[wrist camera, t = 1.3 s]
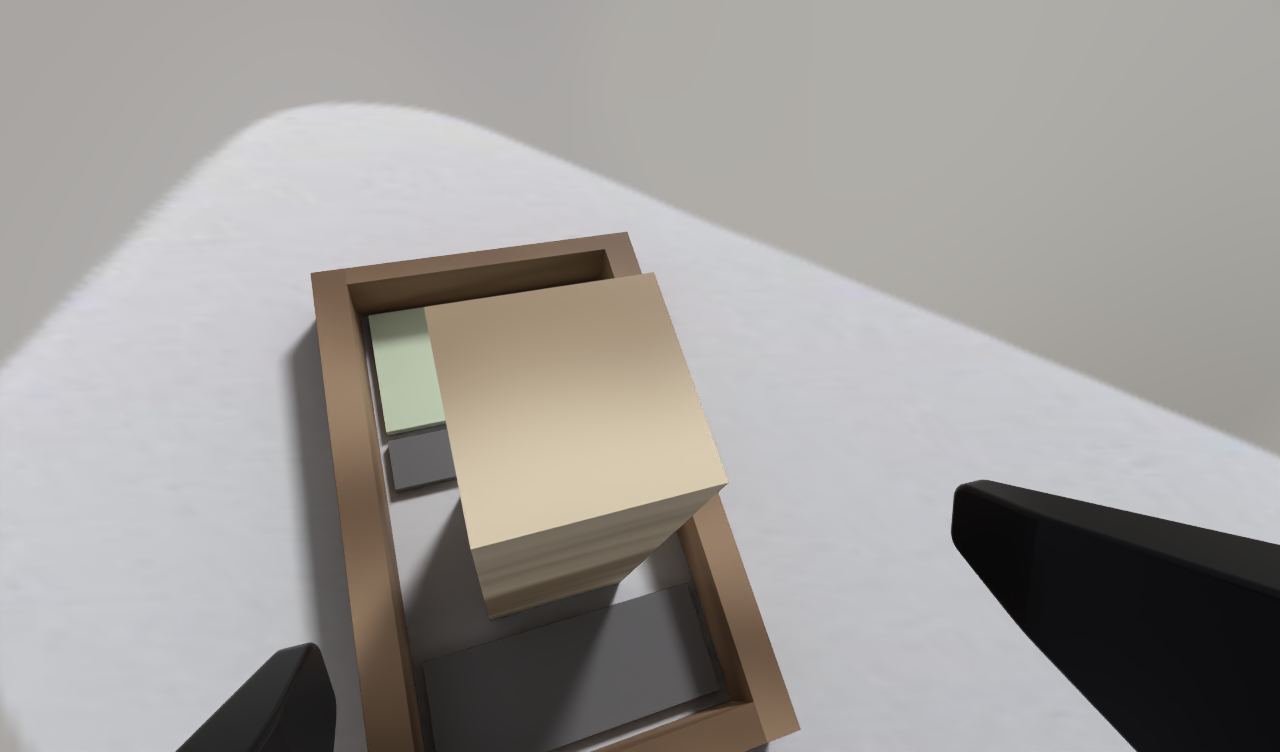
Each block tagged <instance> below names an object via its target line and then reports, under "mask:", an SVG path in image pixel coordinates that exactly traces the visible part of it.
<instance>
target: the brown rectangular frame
mask: <svg viewBox="0 0 1280 752" xmlns="http://www.w3.org/2000/svg"><path fill="white" fill-rule="evenodd" d="M640 274H642V273H641V270H640V267H639V264H638V261H637V259H636V256H635V253H634V250H633V247H632V244H631V241H630V239H629V236H628V233H627V232H622V233H614V234H607V235H599V236H591V237H584V238H576V239H568V240H561V241H553V242H545V243H538V244H530V245H522V246H515V247H507V248H499V249H492V250H484V251H476V252H468V253H461V254H453V255H445V256H438V257H430V258H422V259H415V260H407V261H399V262H392V263H384V264H376V265H369V266H361V267H353V268H346V269H338V270H330V271H322V272H315V273H311V281H312V289H313V297H314V306H315V314H316V322H317V331H318V339H319V348H320V356H321V364H322V373H323V381H324V389H325V398H326V406H327V414H328V423H329V431H330V439H331V448H332V456H333V464H334V473H335V481H336V489H337V498H338V506H339V514H340V523H341V531H342V539H343V548H344V556H345V564H346V573H347V581H348V589H349V598H350V606H351V614H352V623H353V631H354V639H355V648H356V656H357V665H358V673H359V681H360V690H361V698H362V706H363V715H364V723H365V731H366V740H367V748H368V752H425V749H424V743H423V736H422V729H421V723H420V716H419V709H418V703H417V696H416V689H415V683H414V676H413V669H412V662H411V656H410V649H409V642H408V636H407V629H406V622H405V616H404V609H403V602H402V596H401V589H400V582H399V575H398V569H397V562H396V555H395V549H394V542H393V535H392V529H391V522H390V515H389V509H388V502H387V495H386V488H385V482H384V475H383V468H382V462H381V455H380V448H379V442H378V435H377V428H376V421H375V415H374V408H373V401H372V395H371V388H370V381H369V375H368V368H367V361H366V355H365V348H364V341H363V334H362V328H361V321H360V317H361V316H367V315H374V314H381V313H387V312H394V311H400V310H407V309H414V308H420V307H427V306H434V305H440V304H447V303H453V302H460V301H467V300H473V299H480V298H487V297H493V296H500V295H506V294H513V293H520V292H526V291H533V290H540V289H546V288H553V287H559V286H566V285H573V284H579V283H586V282H593V281H600V280H607V279H613V278H620V277H627V276H633V275H640ZM677 532H678V535H679V538H680V541H681V544H682V548H683V551H684V554H685V557H686V560H687V563H688V566H689V570H690V573H691V576H692V579H693V582H694V585H695V589H696V592H697V595H698V598H699V601H700V604H701V608H702V611H703V614H704V617H705V620H706V623H707V626H708V630H709V633H710V636H711V639H712V642H713V645H714V649H715V652H716V655H717V658H718V661H719V664H720V667H721V671H722V674H723V677H724V680H725V683H726V686H727V690H728V693H729V696H730V699H731V701H728V702H725V703H722V704H720V705H717V706H714V707H711V708H709V709H706V710H703V711H701V712H698V713H695V714H692V715H690V716H687V717H684V718H682V719H679V720H676V721H673V722H671V723H668V724H665V725H662V726H660V727H657V728H654V729H652V730H649V731H646V732H643V733H641V734H638V735H635V736H632V737H630V738H627V739H624V740H622V741H619V742H616V743H613V744H611V745H608V746H605V747H603V748H600V749H597V750H594V751H592V752H745V751H748V750H750V749H753V748H755V747H758V746H761V745H763V744H766V743H768V742H771V741H773V740H776V739H778V738H781V737H783V736H786V735H788V734H791V733H793V732H796V731H798V730H801V729H800V726H799V723H798V721H797V718H796V715H795V712H794V709H793V706H792V703H791V700H790V698H789V695H788V692H787V689H786V686H785V683H784V680H783V677H782V675H781V672H780V669H779V666H778V663H777V660H776V657H775V655H774V652H773V649H772V646H771V643H770V640H769V637H768V634H767V632H766V629H765V626H764V623H763V620H762V617H761V614H760V611H759V609H758V606H757V603H756V600H755V597H754V594H753V591H752V589H751V586H750V583H749V580H748V577H747V574H746V571H745V568H744V566H743V563H742V560H741V557H740V554H739V551H738V548H737V545H736V543H735V540H734V537H733V534H732V531H731V528H730V525H729V523H728V520H727V517H726V514H725V511H724V508H723V505H722V502H721V500H720V497H719V494H718V493H717V494H716V495H715V496H714V497H712V498H711V499H710V500H709V501H708V502H707V503H706V504H705V505H704V506H703V507H702V508H700V509H699V510H698V511H697V512H696V513H695V514H694V515H693V516H692V517H691V518H690V519H688V520H687V521H686V522H685V523H684V524H683V525H682V526H681V527H680V528H679V529H678V530H677Z"/></svg>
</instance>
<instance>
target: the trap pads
mask: <svg viewBox="0 0 1280 752" xmlns="http://www.w3.org/2000/svg"><path fill="white" fill-rule="evenodd" d="M388 446H389V453H390V459H391V466H392V472H393V479H394V485H395V490H396V492H401V491H405V490H410V489H414V488H418V487H423V486H427V485H432V484H436V483H440V482H445V481H449V480H454V479H457V476H456V471H455V466H454V461H453V456H452V451H451V445H450V440H449V435H448V430H447V429H444V430H439V431H434V432H430V433H425V434H420V435H415V436H410V437H405V438H400V439H395V440H391V441H388ZM422 666H423V672H424V678H425V685H426V691H427V698H428V704H429V711H430V717H431V724H432V730H433V736H434V743H435V749H436V752H547V751H550V750H553V749H556V748H558V747H561V746H564V745H567V744H570V743H572V742H575V741H578V740H581V739H583V738H586V737H589V736H592V735H595V734H597V733H600V732H603V731H606V730H608V729H611V728H614V727H617V726H620V725H622V724H625V723H628V722H631V721H633V720H636V719H639V718H642V717H645V716H647V715H650V714H653V713H656V712H658V711H661V710H664V709H667V708H670V707H672V706H675V705H678V704H681V703H683V702H686V701H689V700H692V699H695V698H697V697H700V696H703V695H706V694H708V693H711V692H714V691H717V690H720V687H719V684H718V681H717V678H716V674H715V671H714V668H713V665H712V662H711V658H710V655H709V652H708V649H707V646H706V642H705V639H704V636H703V633H702V630H701V626H700V623H699V620H698V617H697V614H696V610H695V607H694V604H693V601H692V598H691V594H690V591H689V588H688V585H687V583H684V584H681V585H678V586H674V587H671V588H668V589H664V590H661V591H658V592H654V593H651V594H648V595H645V596H641V597H638V598H635V599H631V600H628V601H625V602H621V603H618V604H615V605H612V606H608V607H605V608H602V609H598V610H595V611H592V612H588V613H585V614H582V615H578V616H575V617H572V618H569V619H565V620H562V621H559V622H555V623H552V624H549V625H545V626H542V627H539V628H536V629H532V630H529V631H526V632H522V633H519V634H516V635H512V636H509V637H506V638H503V639H499V640H496V641H493V642H489V643H486V644H483V645H479V646H476V647H473V648H469V649H466V650H463V651H460V652H456V653H453V654H450V655H446V656H443V657H440V658H436V659H433V660H430V661H427V662H423V663H422Z"/></svg>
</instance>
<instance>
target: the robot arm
mask: <svg viewBox="0 0 1280 752" xmlns="http://www.w3.org/2000/svg"><path fill="white" fill-rule="evenodd" d="M951 536H952V540H953V543H954V545H955V547H956V548H957V550H958V551H959V552H960V554H961V555H962V556H963V557H964V559H965V560H966V561H967V562H968V564H969V565H970V566H971V567H972V569H973V570H974V571H975V573H976V574H977V575H978V576H979V578H980V579H981V580H982V581H983V583H984V584H985V585H986V586H987V588H988V589H989V590H990V591H991V593H992V594H993V595H994V596H995V598H996V599H997V600H998V601H999V603H1000V604H1001V605H1002V606H1003V608H1004V609H1005V610H1006V611H1007V613H1008V614H1009V615H1010V616H1011V618H1012V619H1013V620H1014V621H1015V622H1016V624H1017V625H1018V626H1019V627H1020V628H1021V630H1022V631H1023V632H1024V633H1025V634H1026V635H1027V636H1028V638H1029V639H1030V640H1031V641H1032V642H1033V643H1034V644H1035V645H1036V646H1037V647H1038V648H1039V649H1040V651H1041V652H1042V653H1043V654H1044V655H1045V656H1046V657H1047V658H1048V659H1049V660H1050V661H1051V662H1052V663H1053V664H1054V665H1055V666H1056V667H1057V668H1058V669H1059V670H1060V672H1061V673H1062V674H1063V675H1064V676H1065V677H1066V678H1067V679H1068V680H1069V681H1070V682H1071V683H1072V684H1073V685H1074V686H1075V687H1076V688H1077V689H1078V690H1079V692H1080V693H1081V694H1082V695H1083V696H1084V697H1085V698H1086V699H1087V700H1088V701H1089V702H1090V703H1091V704H1092V705H1093V706H1094V707H1095V708H1096V709H1097V710H1098V711H1099V713H1100V714H1101V715H1102V716H1103V717H1104V718H1105V719H1106V720H1107V721H1108V722H1109V723H1110V724H1111V725H1112V726H1113V727H1114V728H1115V729H1116V730H1117V731H1118V733H1119V734H1120V735H1121V736H1122V737H1123V738H1124V739H1125V740H1126V741H1127V742H1128V743H1129V744H1130V745H1131V746H1132V747H1133V748H1134V749H1135V750H1136V751H1137V752H1280V545H1277V544H1273V543H1268V542H1264V541H1259V540H1255V539H1250V538H1246V537H1241V536H1237V535H1232V534H1228V533H1223V532H1219V531H1214V530H1210V529H1205V528H1201V527H1196V526H1192V525H1187V524H1183V523H1178V522H1174V521H1169V520H1165V519H1160V518H1156V517H1151V516H1147V515H1142V514H1138V513H1133V512H1129V511H1124V510H1120V509H1115V508H1111V507H1106V506H1102V505H1097V504H1093V503H1088V502H1084V501H1079V500H1075V499H1070V498H1066V497H1061V496H1057V495H1052V494H1048V493H1043V492H1039V491H1034V490H1030V489H1025V488H1021V487H1016V486H1012V485H1007V484H1003V483H998V482H994V481H989V480H977V481H973V482H969V483H965V484H961V485H960V486H958V487H957V489H956V490H955V492H954V500H953V512H952V524H951ZM335 726H336V699H335V694H334V691H333V688H332V685H331V681H330V678H329V675H328V672H327V669H326V666H325V663H324V660H323V657H322V654H321V651H320V649H319V648H318V646H317V645H316V644H314V643H306V644H302V645H298V646H293V647H289V648H285V649H282V650H279V651H277V652H276V653H275V654H274V655H273V656H272V657H271V658H270V659H269V660H268V661H266V662H265V663H264V664H263V665H262V666H261V667H260V668H259V669H258V670H257V671H256V672H255V673H254V674H253V675H252V676H251V677H250V678H249V679H248V680H247V681H246V682H245V683H244V684H243V685H242V686H241V687H240V688H239V689H238V690H237V691H236V692H235V693H234V694H233V695H232V696H231V697H230V698H229V699H228V700H227V701H226V702H225V703H224V704H223V705H222V706H221V707H220V708H219V709H218V710H217V711H216V712H215V713H214V714H213V715H212V716H211V717H210V718H209V719H208V720H207V721H206V722H205V723H204V724H203V725H202V726H201V727H200V728H199V729H198V730H197V731H196V732H195V733H194V734H193V735H192V736H191V737H190V738H189V739H188V740H187V741H186V742H185V743H184V744H183V745H182V746H181V747H180V748H179V749H178V750H177V751H176V752H333V750H334V738H335Z"/></svg>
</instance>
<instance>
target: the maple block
mask: <svg viewBox="0 0 1280 752" xmlns="http://www.w3.org/2000/svg"><path fill="white" fill-rule="evenodd" d="M424 311H425V316H426V321H427V327H428V332H429V337H430V342H431V347H432V352H433V358H434V363H435V368H436V373H437V378H438V383H439V389H440V394H441V399H442V404H443V409H444V414H445V420H446V425H447V430H448V435H449V440H450V445H451V451H452V456H453V461H454V466H455V471H456V476H457V482H458V487H459V492H460V497H461V502H462V507H463V513H464V518H465V523H466V528H467V533H468V538H469V544H470V549H471V553H472V557H473V560H474V564H475V568H476V572H477V575H478V579H479V583H480V587H481V590H482V594H483V598H484V602H485V605H486V609H487V613H488V617H489V620H493V619H497V618H500V617H503V616H507V615H510V614H514V613H517V612H520V611H524V610H527V609H531V608H534V607H538V606H541V605H544V604H548V603H551V602H555V601H558V600H561V599H565V598H568V597H572V596H575V595H578V594H582V593H585V592H589V591H592V590H595V589H599V588H602V587H606V586H609V585H613V584H616V583H619V582H621V581H622V580H623V579H624V578H625V577H626V576H627V575H629V574H630V573H631V572H632V571H633V570H634V569H635V568H636V567H637V566H638V565H639V564H641V563H642V562H643V561H644V560H645V559H646V558H647V557H648V556H649V555H650V554H651V553H652V552H654V551H655V550H656V549H657V548H658V547H659V546H660V545H661V544H662V543H663V542H664V541H666V540H667V539H668V538H669V537H670V536H671V535H672V534H673V533H674V532H675V531H676V530H678V529H679V528H680V527H681V526H682V525H683V524H684V523H685V522H686V521H687V520H688V519H690V518H691V517H692V516H693V515H694V514H695V513H696V512H697V511H698V510H699V509H700V508H702V507H703V506H704V505H705V504H706V503H707V502H708V501H709V500H710V499H711V498H712V497H714V496H715V495H716V494H717V493H718V492H719V491H720V490H721V489H722V488H723V487H724V486H725V485H727V484H728V483H729V481H728V479H727V476H726V473H725V470H724V467H723V465H722V462H721V459H720V456H719V453H718V451H717V448H716V445H715V442H714V439H713V437H712V434H711V431H710V428H709V425H708V423H707V420H706V417H705V414H704V411H703V409H702V406H701V403H700V400H699V397H698V395H697V392H696V389H695V386H694V383H693V381H692V378H691V375H690V372H689V369H688V367H687V364H686V361H685V358H684V355H683V353H682V350H681V347H680V344H679V341H678V339H677V336H676V333H675V330H674V327H673V325H672V322H671V319H670V316H669V313H668V311H667V308H666V305H665V302H664V299H663V297H662V294H661V291H660V288H659V285H658V283H657V280H656V277H655V274H654V272H653V273H646V274H640V275H633V276H627V277H620V278H613V279H607V280H600V281H593V282H587V283H580V284H574V285H567V286H560V287H554V288H547V289H540V290H534V291H527V292H521V293H514V294H507V295H501V296H494V297H487V298H481V299H474V300H468V301H461V302H454V303H448V304H441V305H435V306H428V307H424Z"/></svg>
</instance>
